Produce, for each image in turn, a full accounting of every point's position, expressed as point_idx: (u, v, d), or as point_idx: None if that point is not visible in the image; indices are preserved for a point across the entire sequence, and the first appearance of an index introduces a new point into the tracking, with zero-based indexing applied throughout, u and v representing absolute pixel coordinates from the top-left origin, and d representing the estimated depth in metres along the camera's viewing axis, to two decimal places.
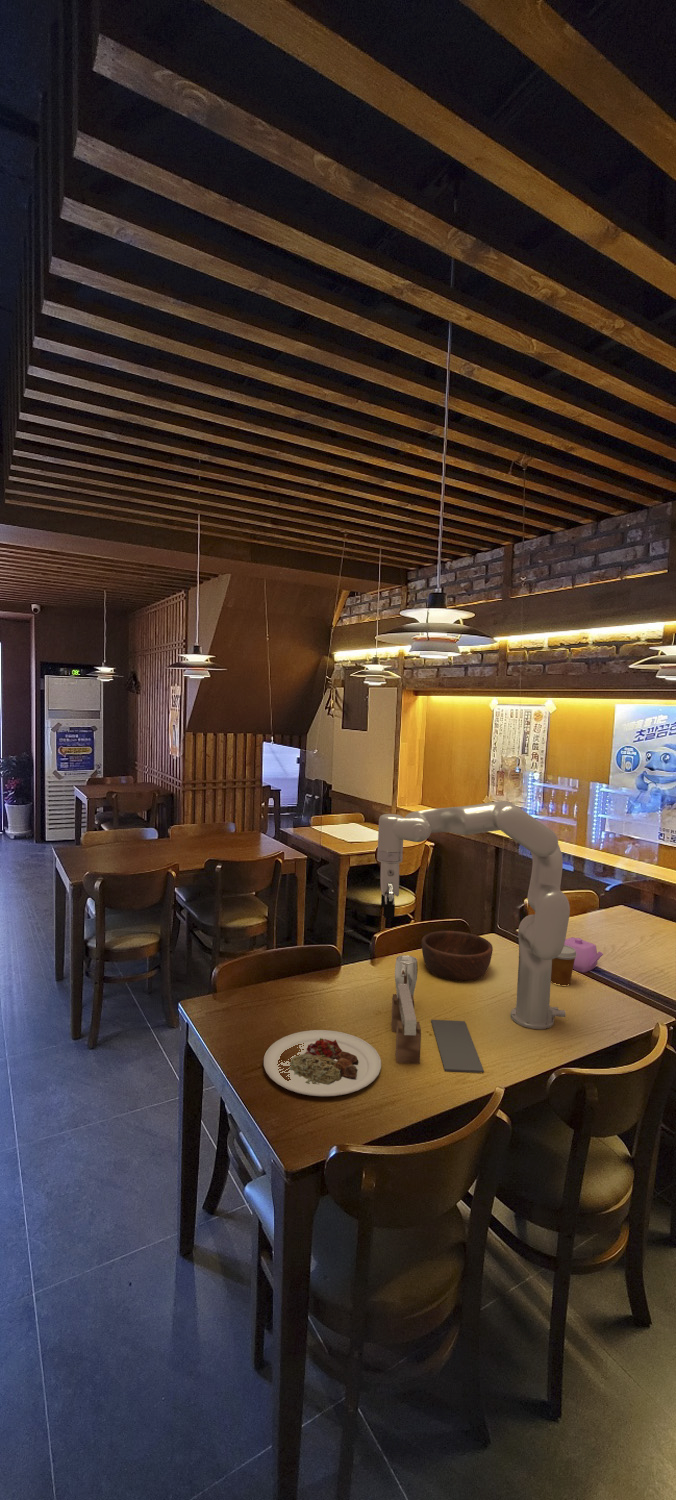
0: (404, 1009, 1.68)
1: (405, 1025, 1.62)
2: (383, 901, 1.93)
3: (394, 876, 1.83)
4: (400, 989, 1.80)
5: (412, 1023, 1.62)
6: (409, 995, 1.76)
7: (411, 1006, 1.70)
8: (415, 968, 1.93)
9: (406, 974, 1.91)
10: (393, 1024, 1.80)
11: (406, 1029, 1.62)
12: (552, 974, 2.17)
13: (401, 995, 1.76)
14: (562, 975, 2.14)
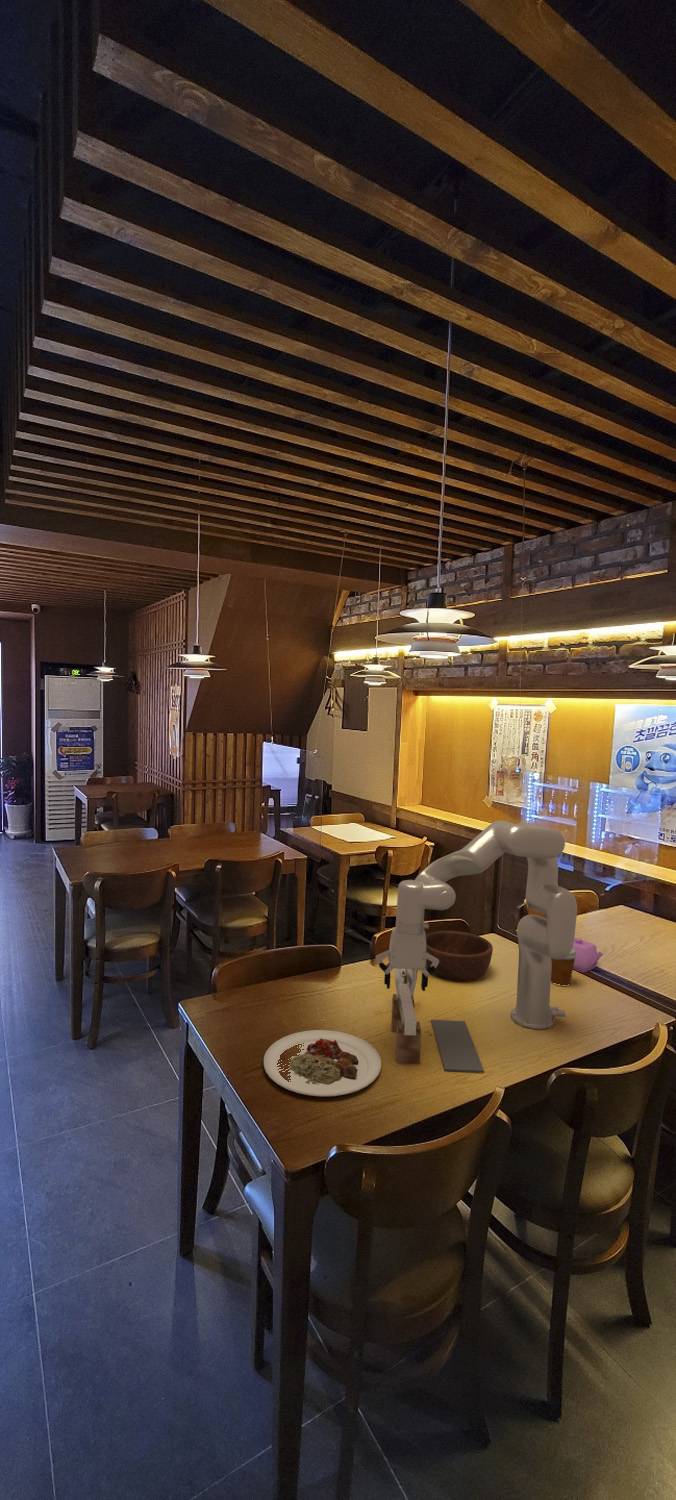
0: (404, 1009, 1.68)
1: (405, 1025, 1.62)
2: (389, 981, 1.72)
3: None
4: (400, 989, 1.80)
5: (412, 1023, 1.62)
6: (409, 995, 1.76)
7: (411, 1006, 1.70)
8: None
9: (406, 974, 1.91)
10: (393, 1024, 1.80)
11: (406, 1029, 1.62)
12: (552, 974, 2.17)
13: (401, 995, 1.76)
14: (562, 975, 2.14)
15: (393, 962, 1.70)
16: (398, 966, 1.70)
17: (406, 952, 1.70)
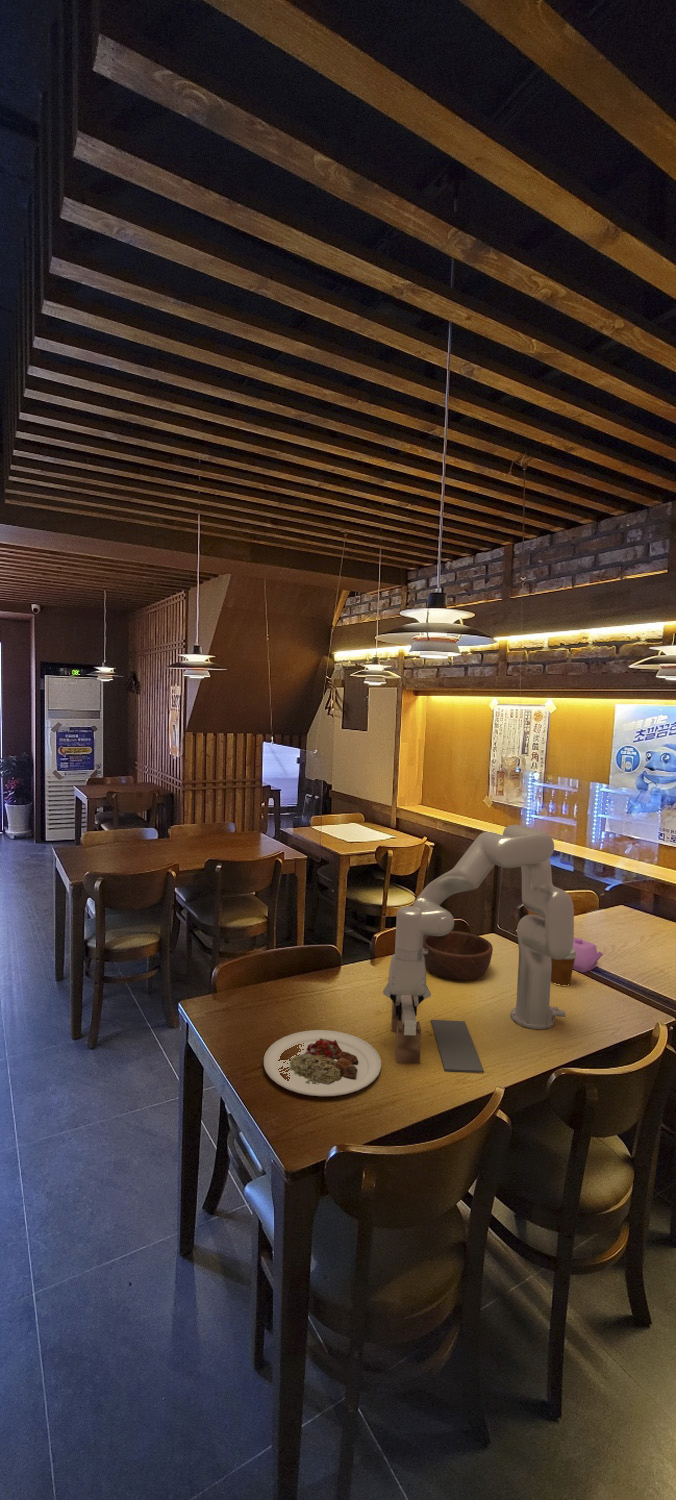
0: (404, 1009, 1.68)
1: (405, 1025, 1.62)
2: None
3: None
4: None
5: (412, 1023, 1.62)
6: (409, 995, 1.76)
7: (411, 1006, 1.70)
8: None
9: None
10: (393, 1024, 1.80)
11: (406, 1029, 1.62)
12: (552, 974, 2.17)
13: (401, 995, 1.76)
14: (562, 975, 2.14)
15: (393, 989, 1.71)
16: (398, 992, 1.71)
17: (406, 979, 1.70)
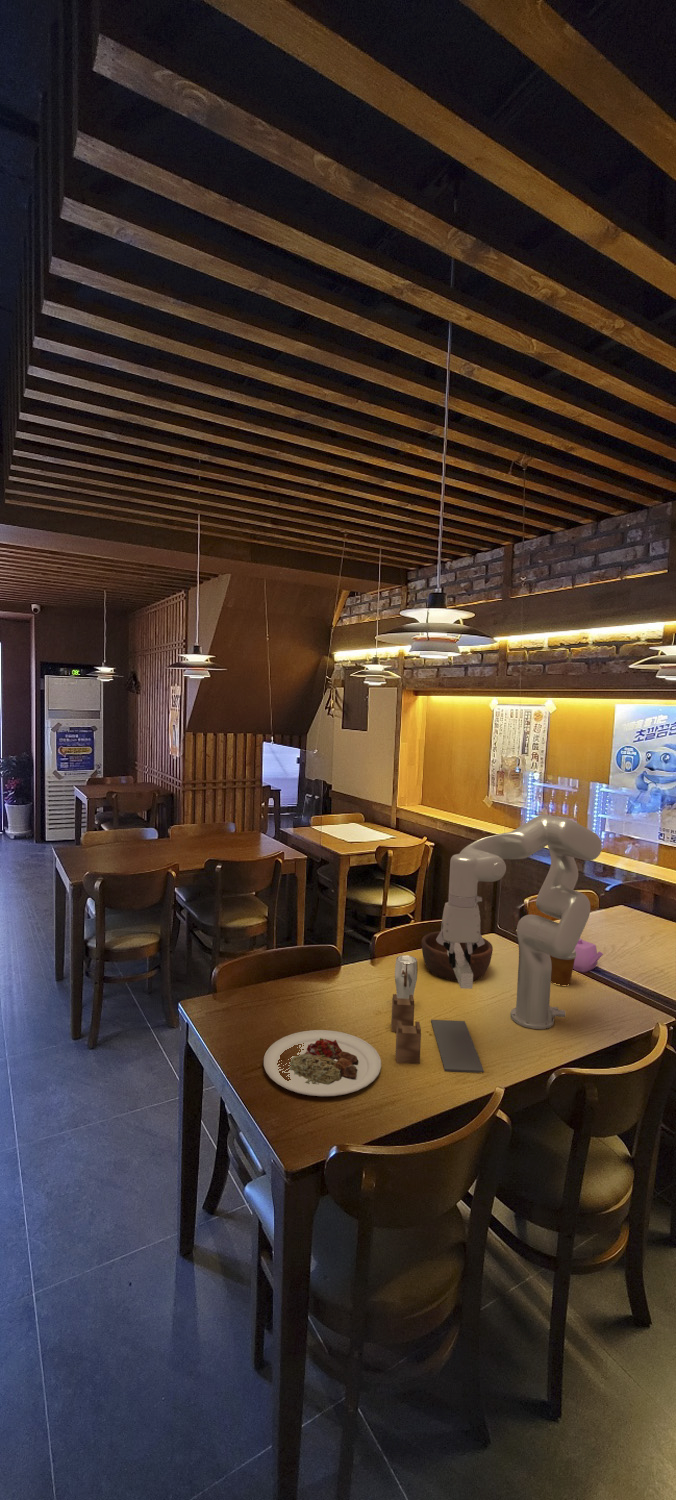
0: (459, 963, 1.67)
1: (462, 978, 1.61)
2: (454, 960, 1.71)
3: None
4: None
5: (469, 976, 1.61)
6: (461, 950, 1.75)
7: (465, 961, 1.69)
8: (415, 968, 1.93)
9: (406, 974, 1.91)
10: (393, 1024, 1.80)
11: (463, 982, 1.61)
12: (552, 974, 2.17)
13: None
14: (562, 975, 2.14)
15: (447, 936, 1.70)
16: (452, 940, 1.70)
17: (460, 926, 1.69)
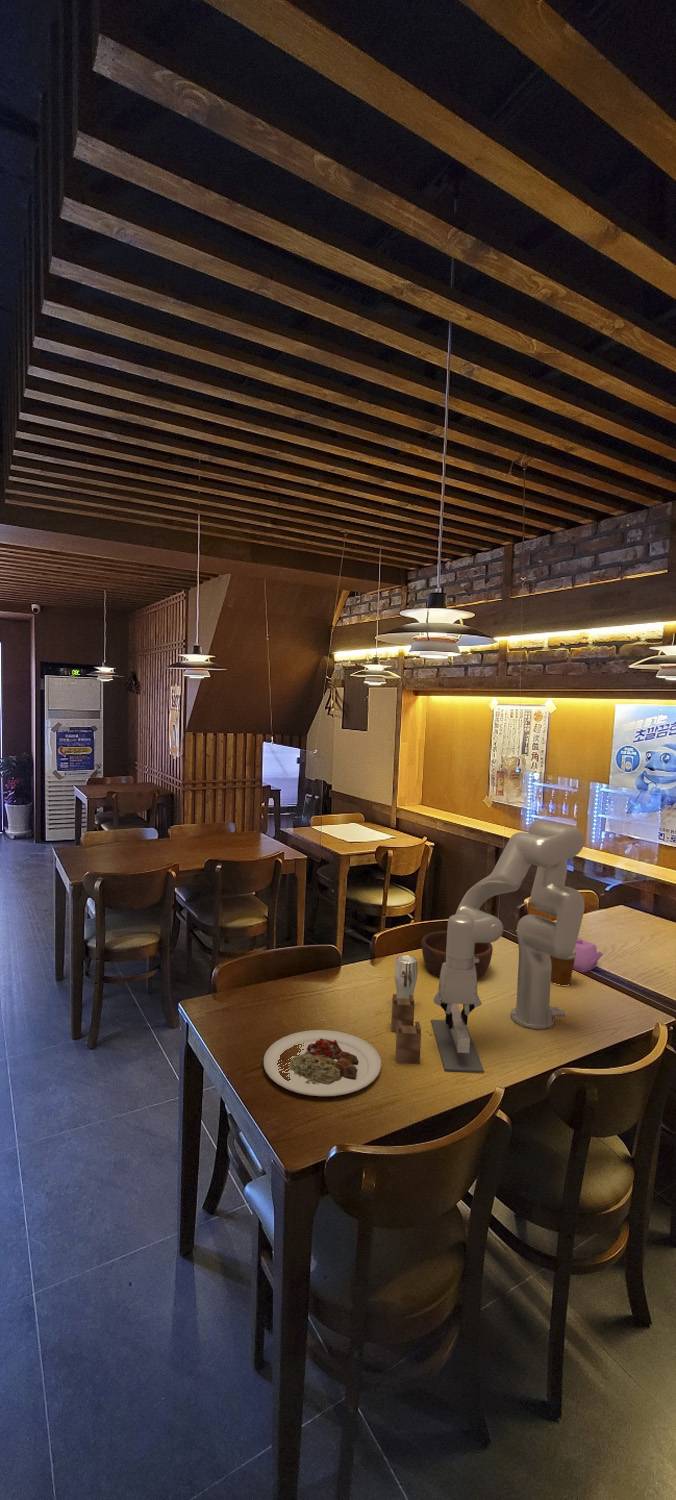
0: (456, 1026, 1.68)
1: (458, 1043, 1.62)
2: (451, 1021, 1.72)
3: None
4: None
5: (466, 1041, 1.62)
6: (458, 1010, 1.76)
7: (462, 1022, 1.69)
8: (415, 968, 1.93)
9: (406, 974, 1.91)
10: (393, 1024, 1.80)
11: (459, 1047, 1.62)
12: (552, 974, 2.16)
13: None
14: (562, 975, 2.14)
15: (444, 997, 1.71)
16: (449, 1001, 1.71)
17: (457, 987, 1.70)
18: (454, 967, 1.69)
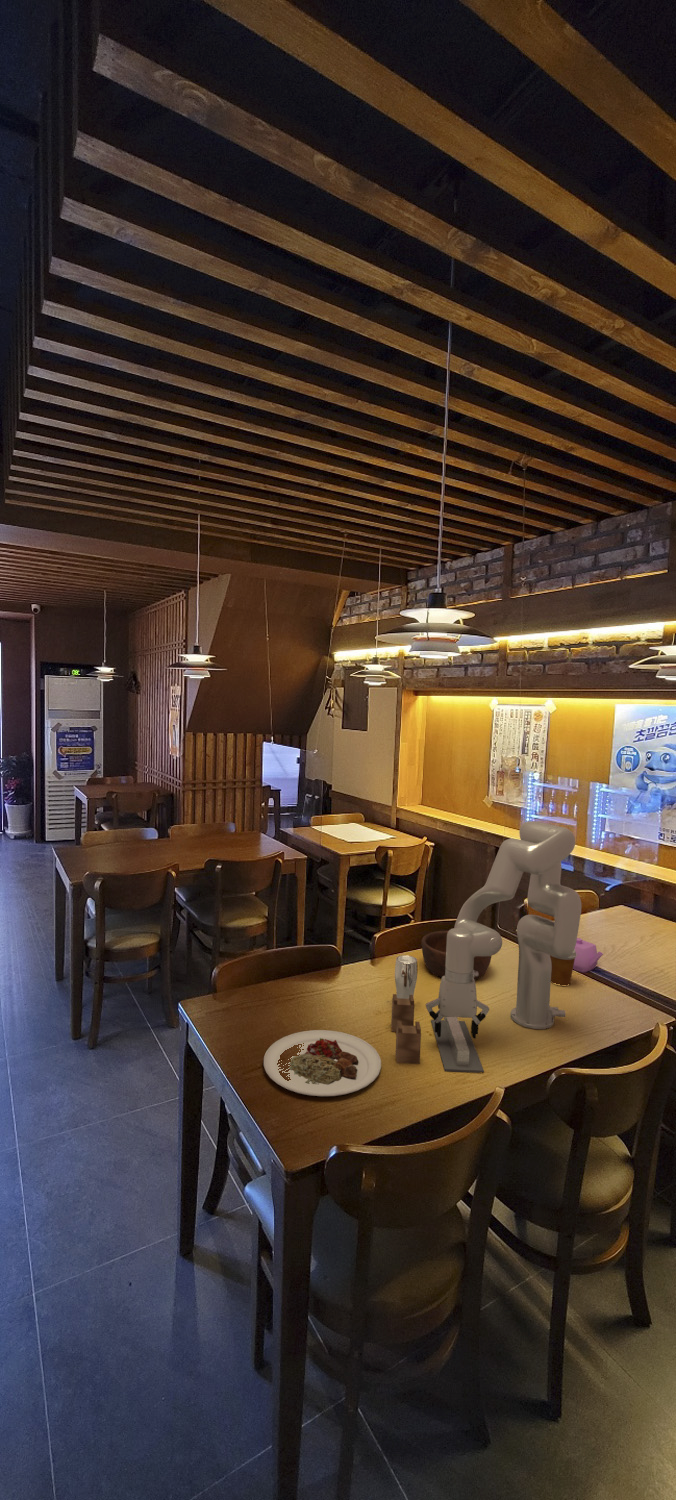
0: (455, 1038, 1.68)
1: (458, 1055, 1.62)
2: (440, 1029, 1.72)
3: None
4: None
5: (465, 1053, 1.62)
6: (458, 1023, 1.76)
7: (461, 1035, 1.70)
8: (415, 968, 1.93)
9: (406, 974, 1.91)
10: (393, 1024, 1.80)
11: (459, 1059, 1.62)
12: (552, 974, 2.17)
13: (450, 1023, 1.76)
14: (562, 975, 2.14)
15: (444, 1011, 1.71)
16: (449, 1015, 1.71)
17: (457, 1001, 1.70)
18: (453, 981, 1.69)
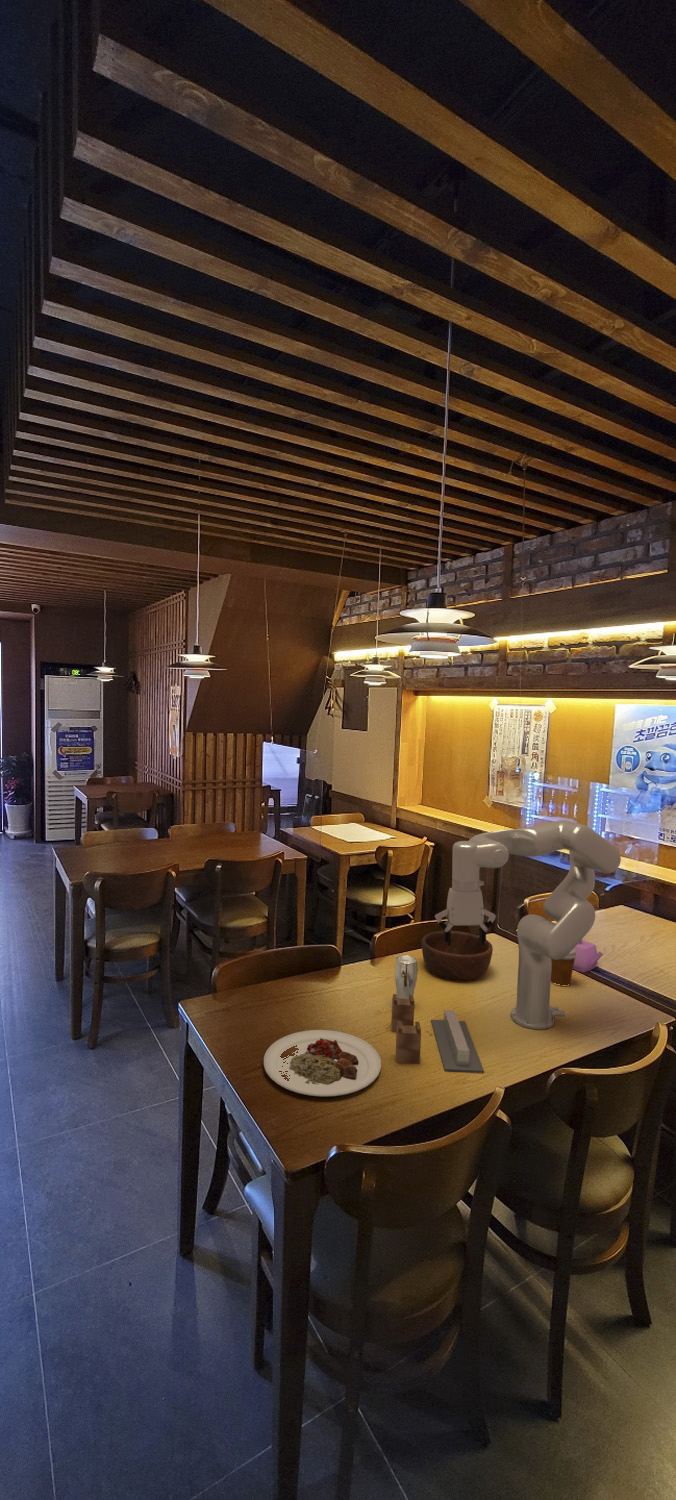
0: (455, 1038, 1.68)
1: (458, 1055, 1.62)
2: None
3: None
4: (448, 1016, 1.80)
5: (465, 1053, 1.62)
6: (458, 1023, 1.76)
7: (461, 1035, 1.70)
8: (415, 968, 1.93)
9: (406, 974, 1.91)
10: (393, 1024, 1.80)
11: (459, 1059, 1.62)
12: (552, 974, 2.16)
13: (450, 1023, 1.76)
14: (562, 975, 2.14)
15: (453, 920, 1.78)
16: (458, 923, 1.78)
17: (465, 909, 1.77)
18: (461, 890, 1.76)
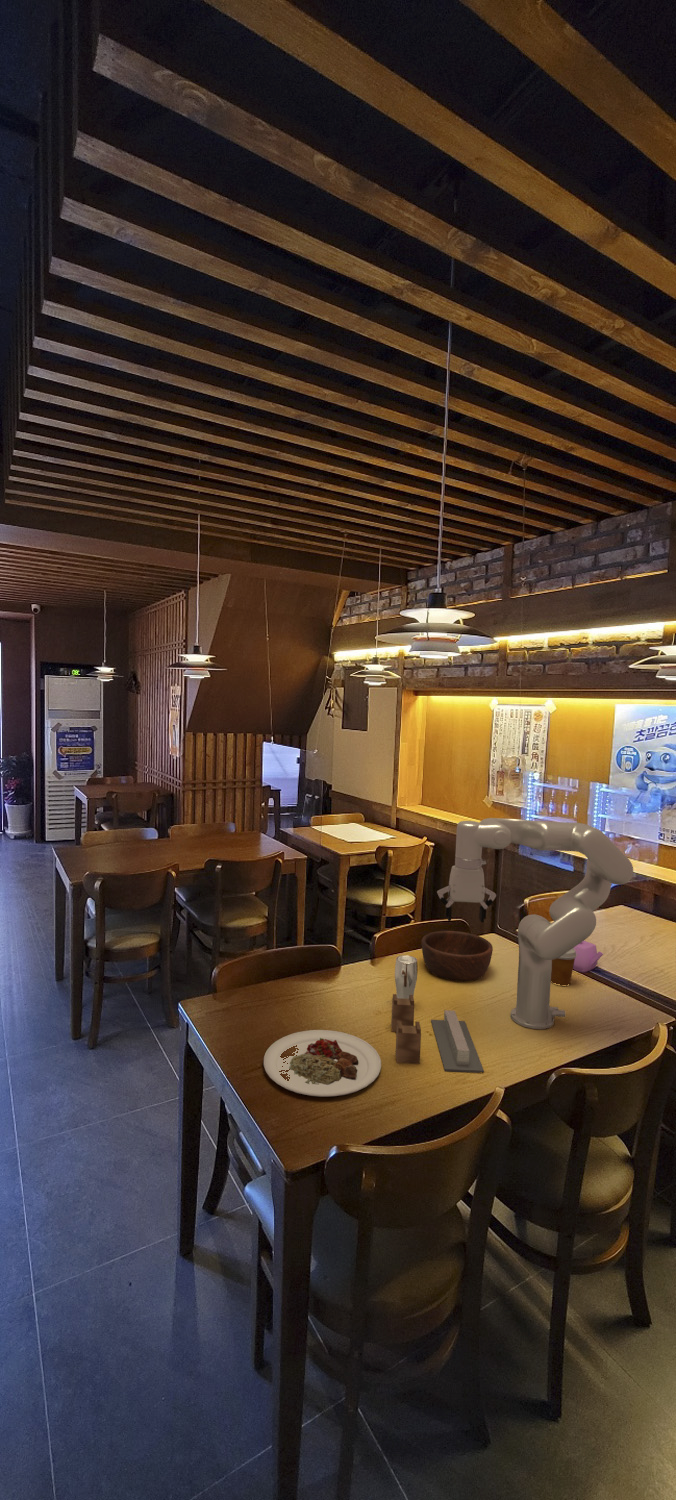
0: (455, 1038, 1.68)
1: (458, 1055, 1.62)
2: (450, 914, 1.86)
3: None
4: (448, 1016, 1.80)
5: (465, 1053, 1.62)
6: (458, 1023, 1.76)
7: (461, 1035, 1.70)
8: (415, 968, 1.93)
9: (406, 974, 1.91)
10: (393, 1024, 1.80)
11: (459, 1059, 1.62)
12: (552, 974, 2.17)
13: (450, 1023, 1.76)
14: (562, 975, 2.14)
15: (454, 896, 1.84)
16: (459, 899, 1.84)
17: (466, 886, 1.84)
18: (463, 867, 1.83)
